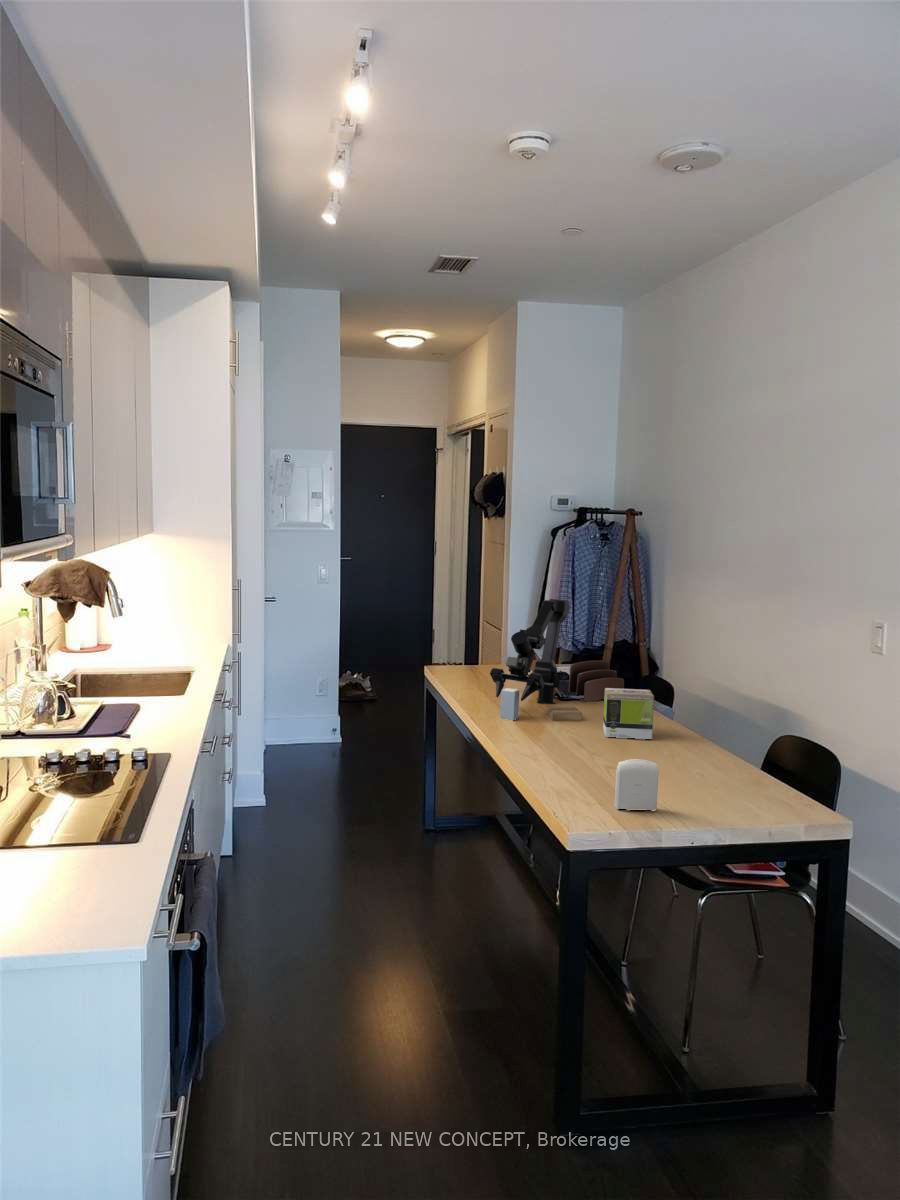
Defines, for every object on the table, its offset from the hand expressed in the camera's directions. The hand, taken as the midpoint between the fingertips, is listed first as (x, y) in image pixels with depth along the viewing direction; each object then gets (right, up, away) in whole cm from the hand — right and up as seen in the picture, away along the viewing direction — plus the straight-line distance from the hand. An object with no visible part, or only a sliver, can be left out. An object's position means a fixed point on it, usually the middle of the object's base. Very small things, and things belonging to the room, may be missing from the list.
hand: (509, 698), depth 302 cm
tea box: (+37, -11, -14) cm, 41 cm away
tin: (0, -7, +1) cm, 7 cm away
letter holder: (+36, -5, +42) cm, 56 cm away
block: (+19, -8, +6) cm, 22 cm away
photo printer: (+25, -18, -86) cm, 91 cm away
